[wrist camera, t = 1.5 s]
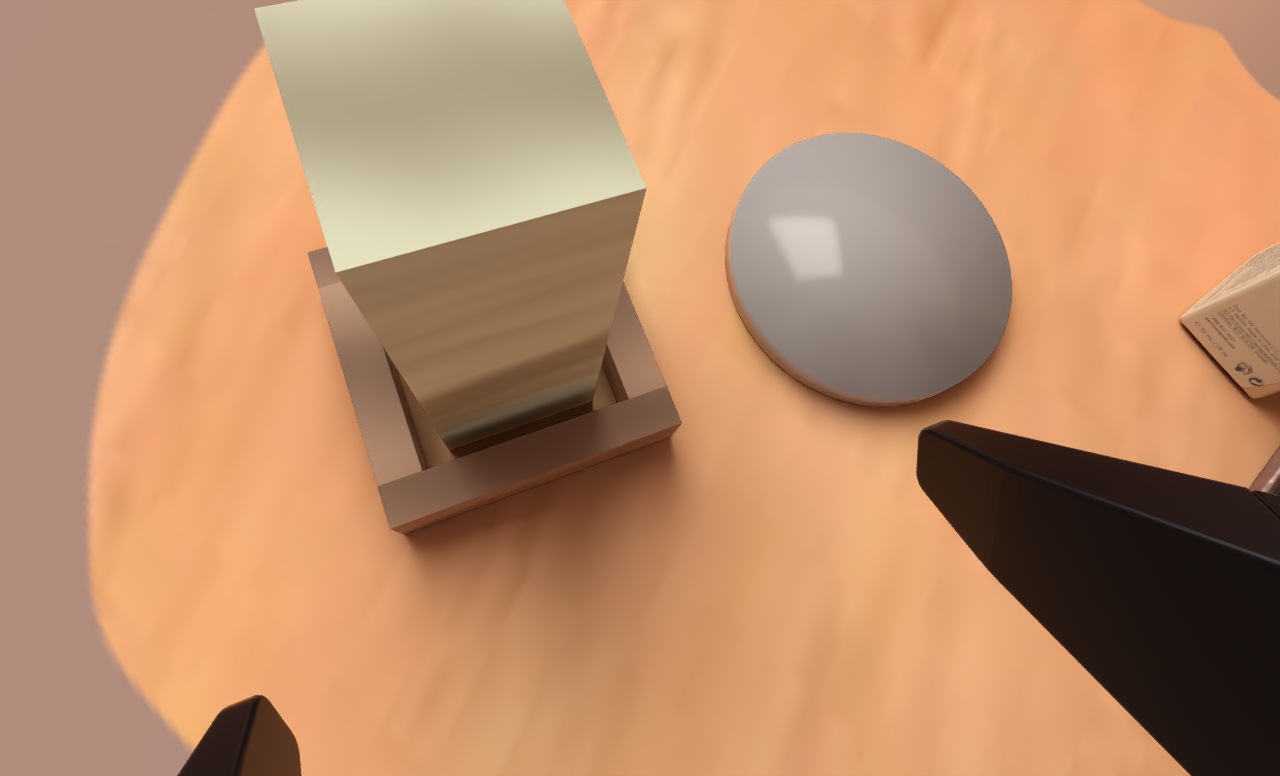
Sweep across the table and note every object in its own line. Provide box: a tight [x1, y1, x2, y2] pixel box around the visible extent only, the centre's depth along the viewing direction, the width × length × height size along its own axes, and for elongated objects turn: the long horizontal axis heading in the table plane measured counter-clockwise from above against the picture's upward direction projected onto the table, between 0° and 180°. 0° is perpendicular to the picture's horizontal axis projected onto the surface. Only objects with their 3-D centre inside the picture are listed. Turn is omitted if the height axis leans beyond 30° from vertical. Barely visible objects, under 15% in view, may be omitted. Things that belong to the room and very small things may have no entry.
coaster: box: [725, 133, 1012, 407], centre depth 26 cm, size 11×11×1 cm
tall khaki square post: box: [254, 0, 646, 450], centre depth 17 cm, size 5×5×13 cm
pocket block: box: [308, 247, 682, 534], centre depth 23 cm, size 9×9×2 cm
